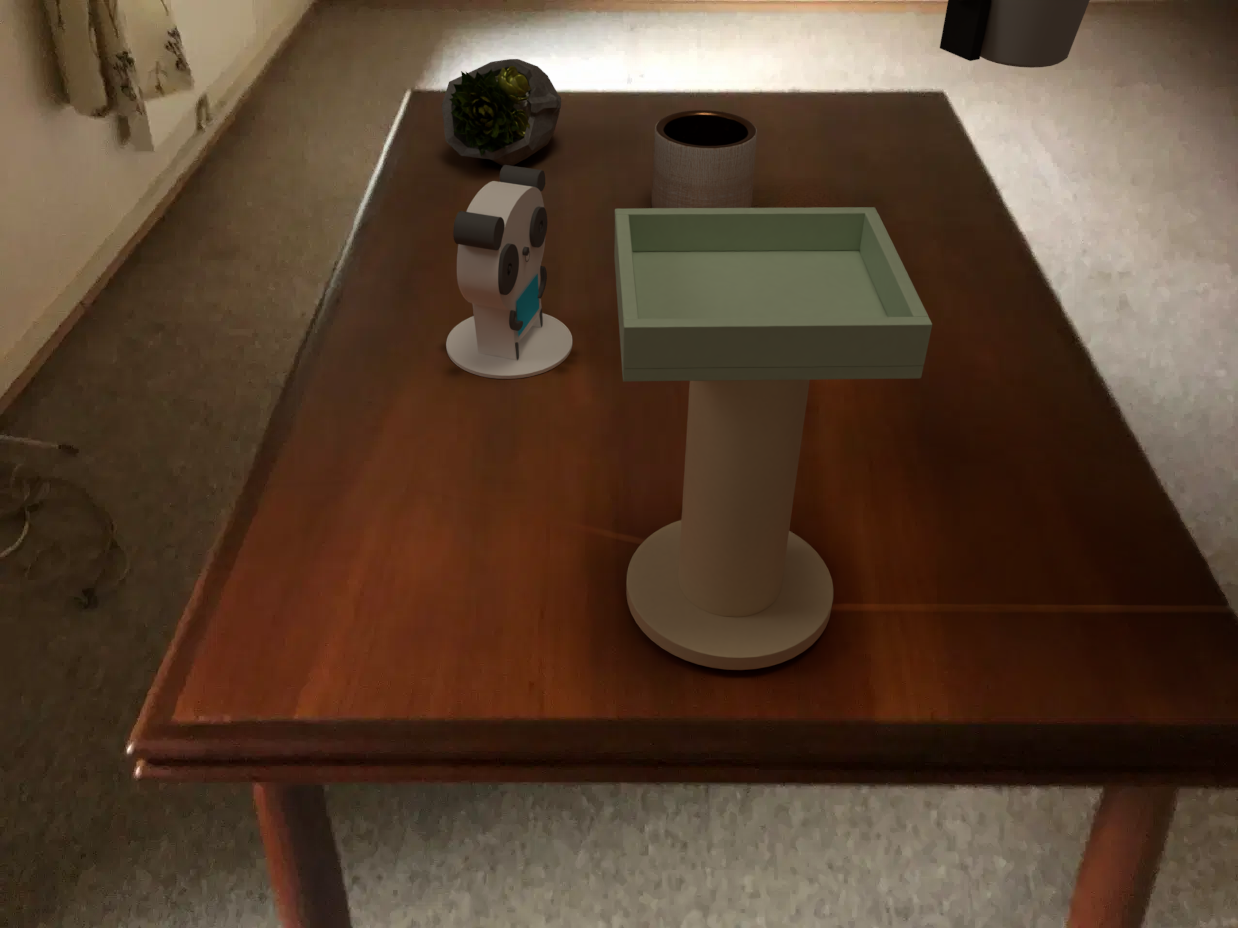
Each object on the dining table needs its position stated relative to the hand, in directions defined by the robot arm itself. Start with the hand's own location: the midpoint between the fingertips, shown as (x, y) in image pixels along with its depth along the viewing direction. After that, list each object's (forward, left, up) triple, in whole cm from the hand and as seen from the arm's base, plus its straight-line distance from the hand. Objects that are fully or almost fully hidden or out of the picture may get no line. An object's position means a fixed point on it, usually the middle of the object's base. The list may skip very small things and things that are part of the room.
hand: (1006, 44), depth 70 cm
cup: (0, -1, 0) cm, 1 cm away
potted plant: (+69, +4, -33) cm, 76 cm away
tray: (-5, +21, -32) cm, 39 cm away
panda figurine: (+31, +21, -33) cm, 49 cm away
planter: (+46, -9, -33) cm, 57 cm away
